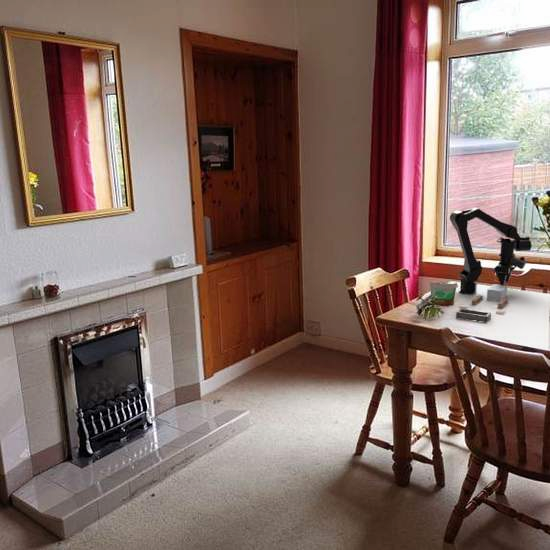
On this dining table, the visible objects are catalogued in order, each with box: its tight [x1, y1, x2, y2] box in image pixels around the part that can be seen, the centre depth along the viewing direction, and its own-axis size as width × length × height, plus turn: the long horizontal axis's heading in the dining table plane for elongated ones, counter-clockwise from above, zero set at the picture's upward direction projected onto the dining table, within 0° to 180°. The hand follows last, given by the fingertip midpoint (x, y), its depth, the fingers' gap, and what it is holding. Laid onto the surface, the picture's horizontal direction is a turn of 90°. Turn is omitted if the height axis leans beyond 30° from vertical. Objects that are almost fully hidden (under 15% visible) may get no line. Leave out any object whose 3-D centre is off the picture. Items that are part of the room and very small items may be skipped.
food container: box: [428, 280, 459, 307], centre depth 243 cm, size 12×6×10 cm, turn 71°
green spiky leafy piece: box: [415, 293, 444, 321], centre depth 227 cm, size 11×11×12 cm
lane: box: [471, 294, 509, 310], centre depth 244 cm, size 12×11×2 cm
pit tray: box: [455, 308, 492, 323], centre depth 224 cm, size 12×6×2 cm, turn 55°
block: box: [486, 283, 508, 302], centre depth 254 cm, size 6×12×5 cm, turn 146°
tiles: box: [459, 304, 506, 315], centre depth 234 cm, size 18×3×1 cm, turn 55°
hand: (504, 283), depth 265 cm, fingers open, 9 cm apart
